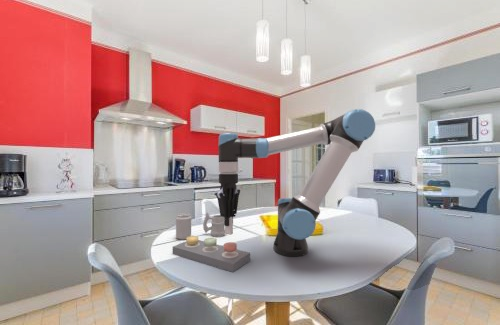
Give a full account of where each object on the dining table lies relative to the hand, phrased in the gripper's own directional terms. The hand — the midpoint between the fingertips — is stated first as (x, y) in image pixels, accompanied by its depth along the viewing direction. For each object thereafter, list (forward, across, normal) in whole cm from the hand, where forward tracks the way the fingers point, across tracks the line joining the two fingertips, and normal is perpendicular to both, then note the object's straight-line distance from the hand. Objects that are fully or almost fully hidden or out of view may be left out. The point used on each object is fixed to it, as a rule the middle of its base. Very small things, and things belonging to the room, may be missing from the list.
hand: (228, 233), depth 92 cm
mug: (+11, -22, -27) cm, 36 cm away
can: (+11, -10, -36) cm, 39 cm away
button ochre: (+7, +1, -19) cm, 20 cm away
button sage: (+6, 0, -9) cm, 11 cm away
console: (+11, +1, -9) cm, 14 cm away
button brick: (+6, 0, +1) cm, 6 cm away
